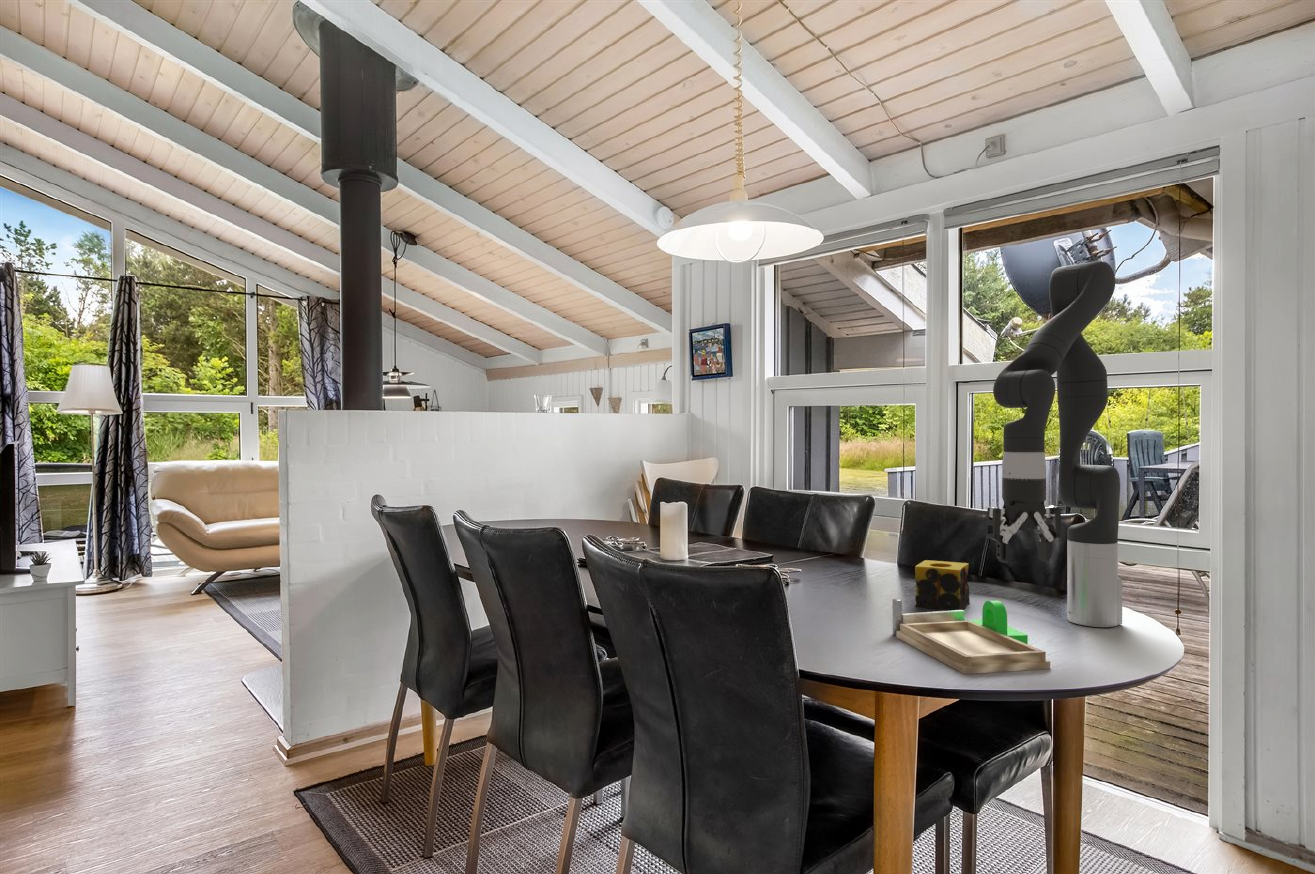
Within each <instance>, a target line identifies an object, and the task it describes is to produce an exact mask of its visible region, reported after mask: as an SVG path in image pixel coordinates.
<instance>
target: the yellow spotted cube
mask: <svg viewBox="0 0 1315 874" xmlns="http://www.w3.org/2000/svg"><path fill="white" fill-rule="evenodd" d="M969 564H970V563H969V562H968V563H967V562H956V561H944V560H928V559H926V560H923V561H921V562H919V563H918V564H917V565H915V566H914V573H915V577H914V580H915V589H916V590H915V593H916V594H915V597H914V598H915V599H914V600H915V608H922V609H923V608H924V609H928V610H929V609H930V610H936V611H937V610H938V611H951V610H964V611H965V610H966V609H967V606H969V605H970V604H971V601H970V600H971V599H970V585H969V584H968V579H969V578H968V575H969Z"/></svg>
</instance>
